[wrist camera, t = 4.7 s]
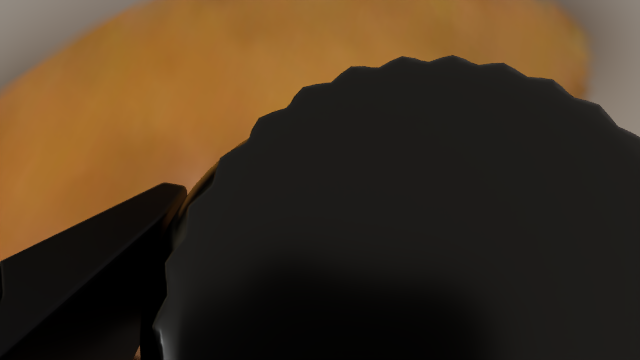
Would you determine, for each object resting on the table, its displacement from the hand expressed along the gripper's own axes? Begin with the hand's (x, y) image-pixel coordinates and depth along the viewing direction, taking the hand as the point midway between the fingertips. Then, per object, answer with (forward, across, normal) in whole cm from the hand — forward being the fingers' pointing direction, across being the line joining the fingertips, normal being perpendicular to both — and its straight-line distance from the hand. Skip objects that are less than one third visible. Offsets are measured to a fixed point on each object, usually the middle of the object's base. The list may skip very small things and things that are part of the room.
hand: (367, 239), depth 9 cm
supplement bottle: (+4, 0, +6) cm, 7 cm away
